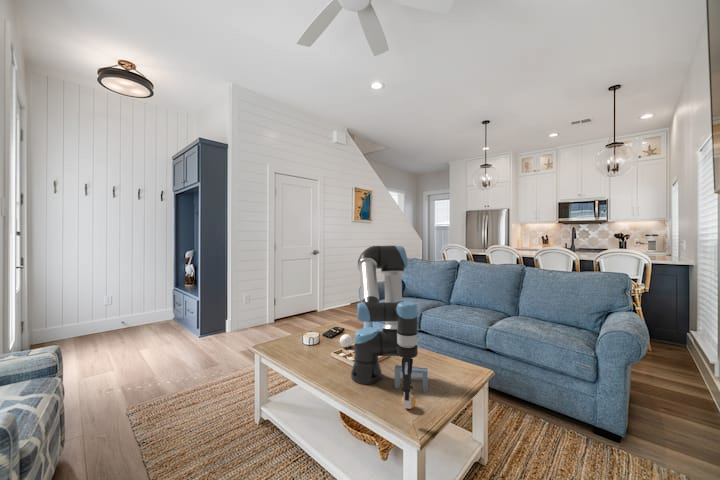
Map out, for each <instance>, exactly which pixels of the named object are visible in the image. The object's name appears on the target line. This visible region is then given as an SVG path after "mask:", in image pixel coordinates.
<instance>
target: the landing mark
mask: <svg viewBox="0 0 720 480" xmlns="http://www.w3.org/2000/svg"><path fill="white" fill-rule="evenodd" d="M400 380H403V373H402V371H400ZM411 381H417V382H423V373H414V372H412V373H411Z"/></svg>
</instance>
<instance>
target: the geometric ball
mask: <svg viewBox="0 0 720 480" xmlns="http://www.w3.org/2000/svg"><path fill="white" fill-rule="evenodd" d="M339 344H340V346H341V347H343V348H346V347H347V348H349V347H351V346H352V344H353V338H352V336H351V335H350V334H347V333H346V334H343V335H341V336H340V338H339ZM350 345H351V346H350ZM348 346H349V347H348Z"/></svg>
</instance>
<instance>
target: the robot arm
mask: <svg viewBox="0 0 720 480" xmlns="http://www.w3.org/2000/svg"><path fill="white" fill-rule="evenodd" d="M407 268H408V256H407V252H406V249H405V248H404V247H403V246H402V245H372V246H369V247H367V248H366V249H364V250H363V251H362V253H360V255H359V258H358V261H357V269H358V271H359V275H360V277H359V278H360V279H359V280H360V297H361V302H358V303H357V304H356V305H357V311H356V313H357V321H359V322H367V323H370V322H372V323H375V322H384V325H383V326H382V331H381V330H379V329H378V327H373V326H369V327H362V328H360V329H358V330H357V331H356V332H355V334H354V341H353V343H354V362H353V364H352V367H351V371H350V378H351V380H352V381H354V382H355V383H357V384H361V385H373V384H376V383H378V382H380V381H381V380H382V379H383V371H382V369H381V368H382V367H381V365H380V363H379V357H401V358H402V360H401V366H402V373H403V379H402V388H401V392H403V394H402V395H403V396H402V398H403V404H402V406H403V408H404V409H407V408H410V409H409V410H411V409H412V408H411V395H412V389H413V388H414V387H413V385H412V380H411V373H412V367H413V363H414V362H413V361H414V358H416V357H418V354H419V353H418V351H419V350H418V340H419V339H420V336H419V335H418V318H419V317H418V316H419V315H418V314H419V311H418V305H417V303H416V302H413V301H405V300H403V291H402V290H403V289H402V288H403V285H402V275H403V274H404V273H405V269H407ZM378 269H380V271H381V274H383V276H384V301H382V302H380V294H379V293H380V292H379V285H378V278H377V270H378Z"/></svg>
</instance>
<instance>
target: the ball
mask: <svg viewBox="0 0 720 480" xmlns="http://www.w3.org/2000/svg"><path fill="white" fill-rule="evenodd" d="M401 403H402V405H403V397H402V398H401ZM415 406H416V397H415V396H414V395H413V394H411V409H413V408H414V407H415ZM406 409H407V410H411V409H410V408H406Z"/></svg>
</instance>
